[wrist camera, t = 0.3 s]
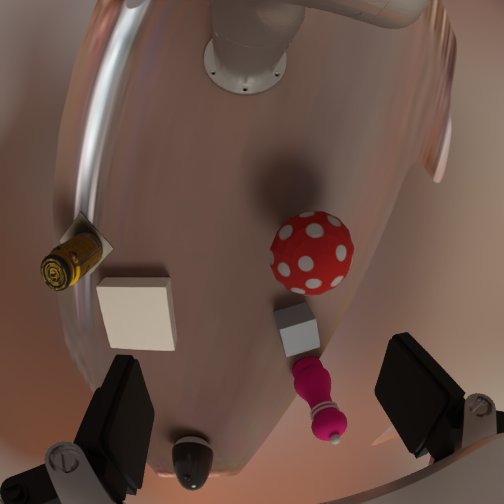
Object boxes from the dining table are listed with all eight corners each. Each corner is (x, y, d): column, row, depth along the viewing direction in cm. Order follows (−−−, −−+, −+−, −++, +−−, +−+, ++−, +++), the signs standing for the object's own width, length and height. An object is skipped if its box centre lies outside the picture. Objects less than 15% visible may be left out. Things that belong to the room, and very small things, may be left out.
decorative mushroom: (252, 261, 46) (266, 305, 32) (266, 193, 43) (287, 208, 29) (316, 270, 48) (352, 313, 34) (332, 206, 45) (378, 227, 30)
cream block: (104, 277, 44) (96, 286, 41) (170, 277, 46) (165, 287, 42) (117, 335, 48) (111, 347, 44) (177, 337, 49) (174, 350, 45)
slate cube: (273, 311, 49) (279, 329, 44) (305, 301, 50) (315, 318, 44) (280, 337, 51) (286, 357, 46) (310, 328, 51) (320, 346, 46)
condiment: (90, 274, 44) (58, 305, 33) (59, 240, 42) (22, 263, 30) (113, 248, 43) (83, 275, 32) (81, 211, 41) (43, 228, 29)
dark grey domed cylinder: (207, 428, 58) (206, 480, 44) (217, 449, 61) (218, 496, 47) (167, 431, 57) (161, 480, 43) (180, 451, 61) (177, 496, 46)
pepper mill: (329, 367, 55) (364, 438, 36) (301, 385, 56) (327, 459, 37) (312, 348, 53) (347, 424, 34) (282, 368, 54) (306, 447, 35)
